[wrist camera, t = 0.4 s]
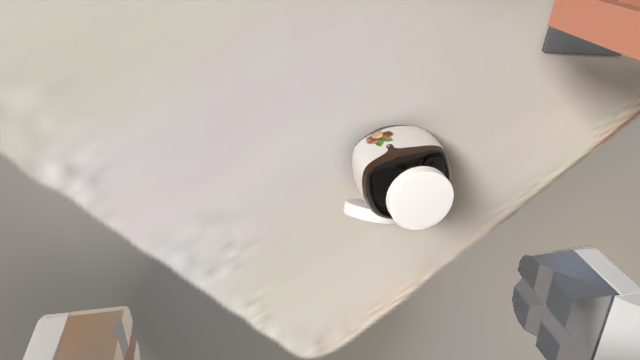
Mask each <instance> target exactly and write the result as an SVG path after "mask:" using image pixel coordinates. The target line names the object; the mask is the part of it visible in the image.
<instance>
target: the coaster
mask: <svg viewBox="0 0 640 360" xmlns="http://www.w3.org/2000/svg"><path fill="white" fill-rule="evenodd" d="M615 1H617V0H615ZM542 51H544V52H555V53H578V54H600V55H621V54H620V53H618V52H615V51H612V50H610V49H607V48H605V47H602V46H599V45H597V44H594V43H592V42H589V41H587V40H584V39H581V38H579V37H576V36H574V35H571V34H568V33H566V32H563V31H561V30H558V29H556V28H553V27H550V26H549V28H548V31H547V35H546V39H545V42H544V46H543V49H542Z"/></svg>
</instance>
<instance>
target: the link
mask: <svg viewBox="0 0 640 360" xmlns="http://www.w3.org/2000/svg"><path fill="white" fill-rule="evenodd" d="M548 26H550V27H553V28H556V29H558V30H561V31H563V32H566V33H568V34H571V35H574V36H576V37H579V38H581V39H584V40H587V41H589V42H592V43H594V44H597V45H599V46H602V47H605V48H607V49H610V50H612V51H615V52H618V53H620V54H623V55H625V56H628V57H631V58H633V59H636V60H638V61H640V0H617V1H615V0H555V4H554V7H553V11H552V14H551V18H550V21H549V25H548Z"/></svg>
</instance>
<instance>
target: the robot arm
mask: <svg viewBox="0 0 640 360" xmlns="http://www.w3.org/2000/svg"><path fill="white" fill-rule="evenodd" d="M518 271H519V273H520V275H521V276H522V279H521V280H520V281H519V282H518V283H517V285H516V286H515V287H514V292H513V298H512V301H513V307H514V312H515V315H516V317H517V319H518V321H519V323H520V324H521V326H522V327H523V329H524V330H526V331H527V332H530V333H531V334H533V335H535V336H537V339H536V346H537V348H538V349H539V350H540V352H541V353H542V354H543V356H544V357H545V358H546V360H640V287H639V286H637V285H636V284H635V283H634V282H633V281H632V280H631V279H630V278H629V277H627V276H626V275H625V274H624V273H623V272H622V271H621V270H620V269H619V268H617V267H616V266H615V265H614V264H613V263H612V262H611V261H610V260H609V259H608V258H606V257H605V256H604V255H603V254H602V253H601V252H600V251H598V249H596V248H594V247H592V246H589V245H588V246H581V247H575V248H568V249H566V250H557V251H550V252H543V253H536V254H528V255H524V256H523V257H522V259H521V260H520V263H519V268H518ZM132 322H133V321H132V318H131V314H130V310H129V308H128V307H127V306H122V307H113V308H103V309H95V310H85V311H76V312H72V313H62V314H53V315H44V316H43V317H42V318H41V319H40V320H39V321H38V323H37V325H36V328H35V330H34V333H33V335H32V338H31V340H30V343H29V345H28V348H27V350H26V353H25V355H24V358H23V360H140V355H139V348H138V343H137V339H135V338H134V337H133V336H131V329H132Z"/></svg>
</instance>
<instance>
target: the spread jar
mask: <svg viewBox="0 0 640 360" xmlns="http://www.w3.org/2000/svg"><path fill="white" fill-rule="evenodd" d="M352 169H353V175H354V179H355V182H356V185H357V188H358V190H359V192H360V194H361V196H362V198H363V200H360V199H347V200H346V201H345V205H344V211H343V212H344V213H345V214H347V215H349V216H352V217H355V218H358V219H362V220H366V221H371V222H377V223H384V224H398V225H399V226H401V227H403V228H405V229H409V230H421V229H426V228H429V227H431V226H433V225H435V224H437V223H438V222H439V221H441V220H442V219H443V218H444V217H445V216H446V215H447V213H448V212H449V210H450V208H451V206H452V204H453V200H454V191H453V187H452V185H451V182H452V172H451V166H450V162H449V158H448V156H447V153H446V151H445V150H444V148H443V147H442V145H441V144H440V143H439V142H438V141H437V140H436V139H435V138H434V137H433V136H432V135H431V134H430V133H429V132H427V131H426V130H424V129H422V128H419V127H415V126H408V125H392V126H386V127H383V128H380V129H377V130H375V131H373V132H371V133H370V134H368V135H367V136H365V137H364V138H363V139H361V140H360V141H359V142H358V144H357V145H356V147H355V148H354V151H353V156H352Z"/></svg>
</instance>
